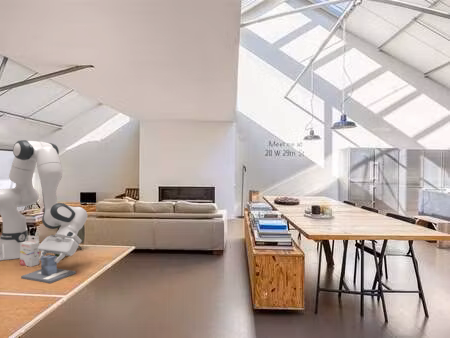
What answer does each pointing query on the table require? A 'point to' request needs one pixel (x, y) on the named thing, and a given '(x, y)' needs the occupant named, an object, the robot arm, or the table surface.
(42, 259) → the slate-blue block
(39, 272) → the letter board
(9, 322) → the table surface
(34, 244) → the ink cartridge box
